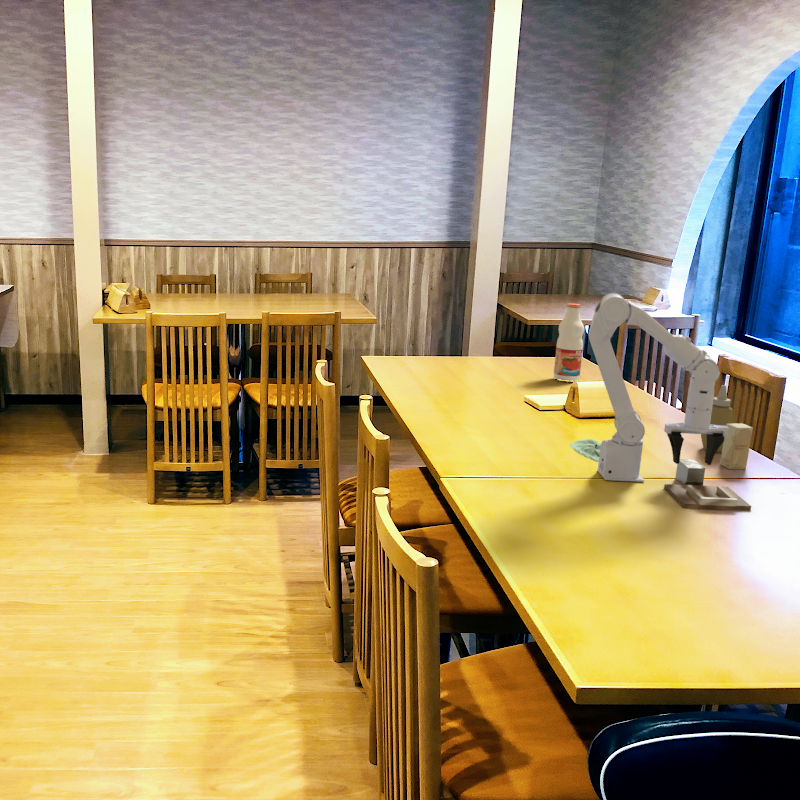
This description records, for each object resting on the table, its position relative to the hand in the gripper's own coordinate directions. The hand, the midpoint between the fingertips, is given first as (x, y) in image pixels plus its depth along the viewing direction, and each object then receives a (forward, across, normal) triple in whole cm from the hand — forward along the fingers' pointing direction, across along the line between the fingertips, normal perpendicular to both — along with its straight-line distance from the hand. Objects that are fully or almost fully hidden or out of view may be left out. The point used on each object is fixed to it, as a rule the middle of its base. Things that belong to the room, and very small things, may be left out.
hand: (691, 463), depth 208 cm
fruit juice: (+5, -4, +115) cm, 115 cm away
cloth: (+6, -14, +23) cm, 28 cm away
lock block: (+5, 0, 0) cm, 5 cm away
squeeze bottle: (+5, +18, +30) cm, 35 cm away
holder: (+5, 0, -11) cm, 12 cm away
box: (+5, +17, +15) cm, 23 cm away
